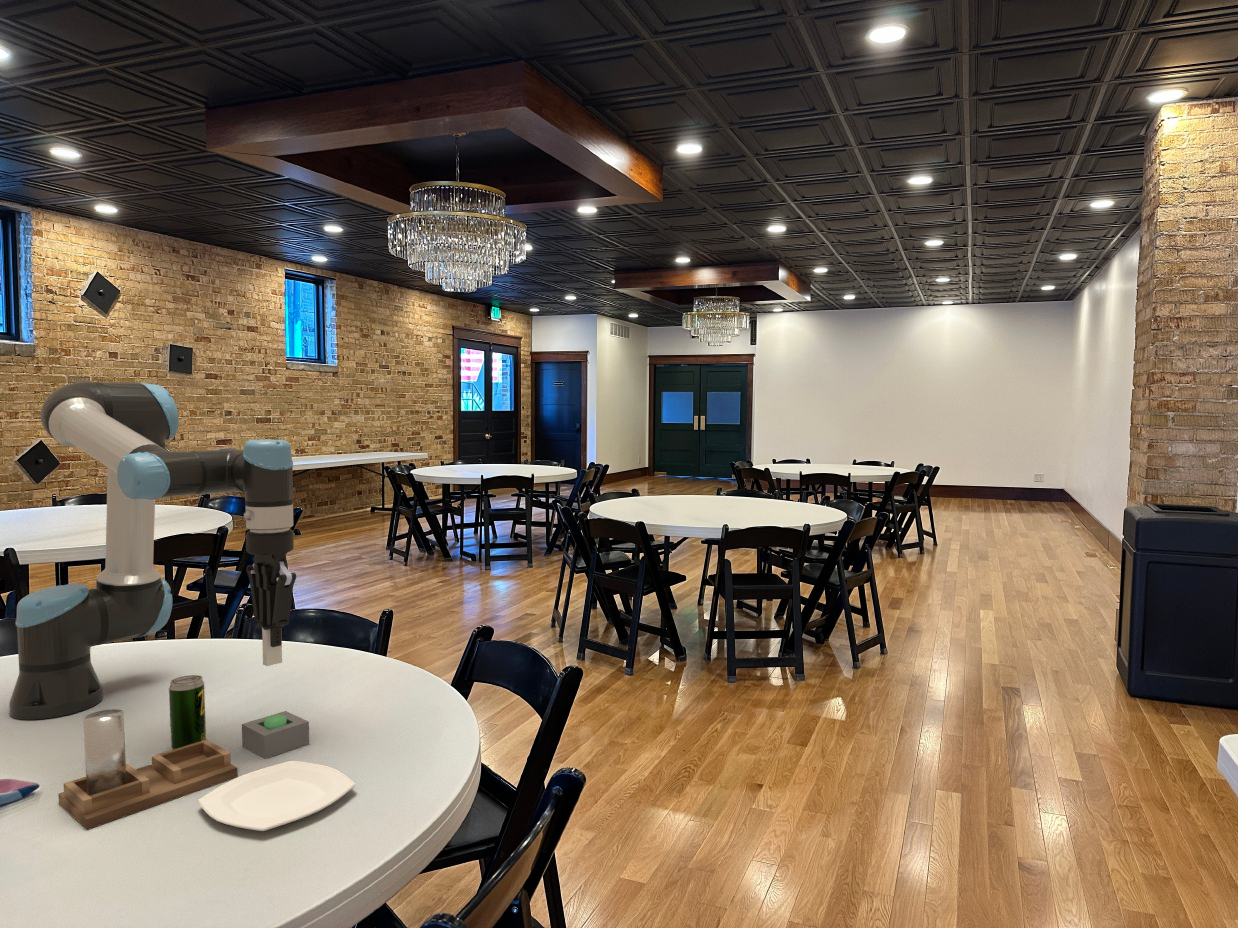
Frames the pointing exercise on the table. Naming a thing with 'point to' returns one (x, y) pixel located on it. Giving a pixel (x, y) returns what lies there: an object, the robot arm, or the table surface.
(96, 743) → the cylinder
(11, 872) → the table surface
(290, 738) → the grey square socket block
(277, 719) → the button
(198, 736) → the green drink can
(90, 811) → the wooden tray
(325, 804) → the plate
